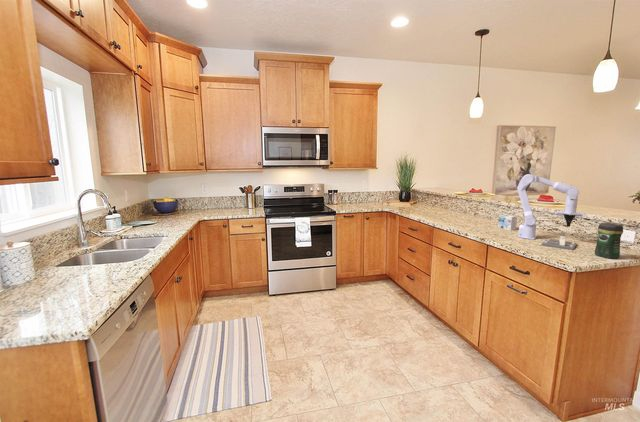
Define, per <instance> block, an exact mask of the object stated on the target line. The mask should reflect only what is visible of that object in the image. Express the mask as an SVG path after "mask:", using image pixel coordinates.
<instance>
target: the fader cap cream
mask: <svg viewBox="0 0 640 422" xmlns="http://www.w3.org/2000/svg"><path fill="white" fill-rule="evenodd" d="M559 240H560V245H564V246H565V243H566V241H567V239H566V238H565V239H560V238H559Z"/></svg>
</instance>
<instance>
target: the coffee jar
mask: <svg viewBox="0 0 640 422" xmlns="http://www.w3.org/2000/svg"><path fill="white" fill-rule="evenodd" d="M597 231H598V232H597V240H596V246H595V250H594V255H595V256H598V257H601V258H606V259H612V260H615V259H619V258H620V256H621V238H622V235H623V233H624V226H623V225H621V224H616V223H611V222H610V223H609V222H600V223H599V224H598V228H597Z"/></svg>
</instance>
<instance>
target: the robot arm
mask: <svg viewBox="0 0 640 422" xmlns="http://www.w3.org/2000/svg"><path fill="white" fill-rule="evenodd" d="M532 183H534V184H535V183H540V184H543V185H546V186H548V187H552V189H553V190H554V191H557V192H558V193H562V194H566V198H565V203H564V205H565V206H564V211H562V210H561V211H559V210H558V211H557V210H556V211H555V213H554V214H555V215H561V216H563V218H564V220H565V222H566V227H569V228H570V227H571V224H572V222H573V221H574V219H575V218H576V217H583V218H585V217H586V213H584V212H583V213H582V212H577V206H578V198H579V197H578V196H579V195H580V190H579V189H578V188H577V187H575V186H573V185H571V184H570V185H569V184H567V183H564V182H563V181H556V182H554V181H552V180H549V179H548V178H547V179H546V178H544V177H542V176H538V175H535V174H534V175H533V174H531V173H528V174H527V173H526V174H525V175H523V176H522V178H521V179H520V181H519V182H518V185H517V187H516V189H517V194H518V196H519V200H520V203H521V207H522V210H523V214H524V222H523V224H520V225H519V227H518V235H517V238H522V239H526V240H527V239H529V240H535V239H537V236H536V232H537V230H536V229H537V224H536V223H537V218H536V216H535V215H534V214H533V211H532V207H531V203H530V201H529V196H528V193H527V190H526V189H527V188H528V187H529V185H531V184H532Z"/></svg>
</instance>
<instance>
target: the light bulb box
mask: <svg viewBox="0 0 640 422" xmlns="http://www.w3.org/2000/svg"><path fill="white" fill-rule="evenodd" d="M517 221H518V216H515V215H509V214H499V215H498V225H497V229H501V228H502V230H505V229H507V230H506V231H510V230H511V231H515V229H516V230H517V224H518V223H517Z"/></svg>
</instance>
